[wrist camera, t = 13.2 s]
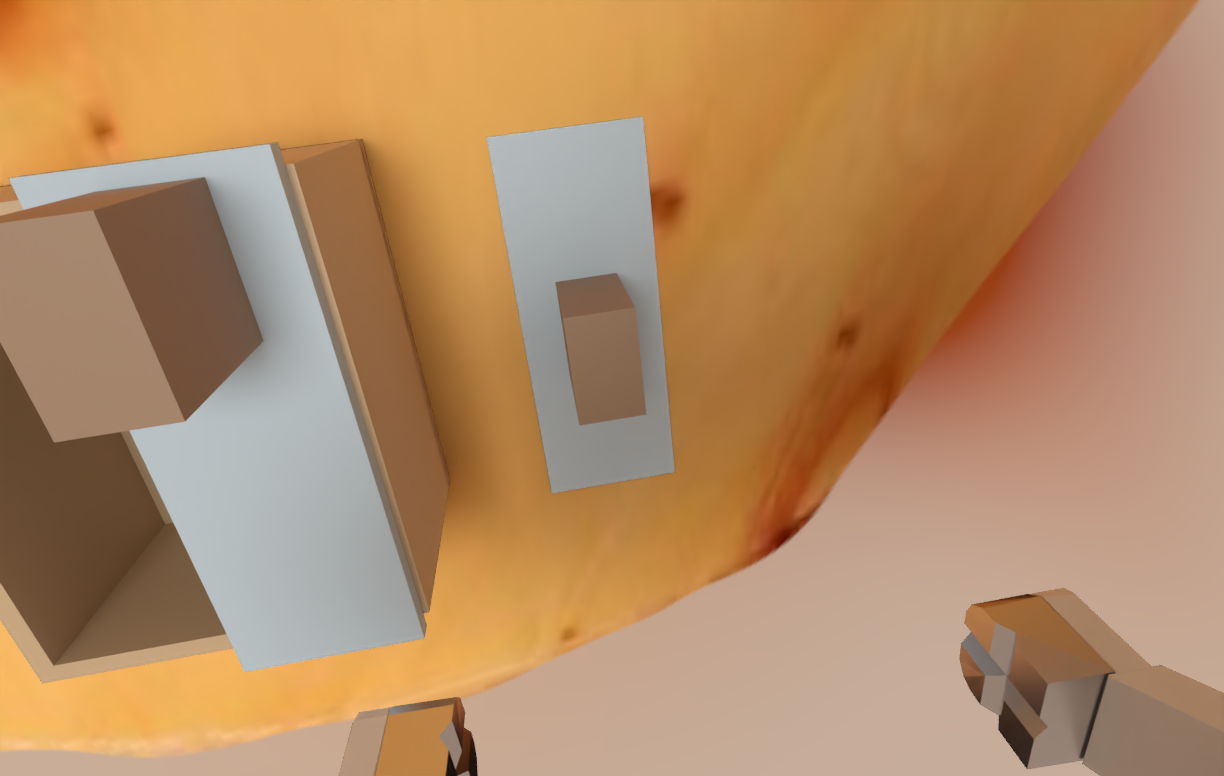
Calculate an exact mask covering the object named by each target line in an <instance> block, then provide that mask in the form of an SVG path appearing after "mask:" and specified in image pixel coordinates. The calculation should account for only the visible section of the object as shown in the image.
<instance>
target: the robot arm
mask: <svg viewBox="0 0 1224 776" xmlns="http://www.w3.org/2000/svg"><path fill="white" fill-rule="evenodd" d="M965 624H966V626H967V627H968V628H969V629H970V631H971V633H970V634H969V635H968V636H967V638H966V639H965V640H964V641H963V642H962V643H961V649H960V663H961V667H962V671H963V676H964V678H965V680H966V682H967V684H968V686H969V688H970V690H971V692H972V693H973V695H974V696H975V698H976V699H977V701H978V702H979V703H980V705H982V706H984V707H986V708H987V709H989V710H991V711H992V712H994V713H996V714H998V715H999V725H998V726H999V727H998V730H999V731H1000V733H1001V734H1002V735H1003V737H1004V738H1005V739H1006V741H1007V742H1008V744H1009V745H1010V746H1011V748H1012V749H1013V751H1014V752H1015V753H1016V755H1017V756H1018V757H1019V759H1020V760H1021V762H1022V763H1023V764H1024V766H1025V767H1026V768H1027V769H1032V768H1038V767H1045V766H1051V765H1057V764H1063V763H1069V762H1076V761H1082V760H1083V763H1082V764H1084V765H1085V766H1087V767H1088V768H1089V769H1091V770H1092V771H1094V772H1095V773H1097V774H1098V775H1100V776H1224V693H1223V692H1220V691H1218V690H1216V689H1214V688H1211V687H1209V686H1207V685H1205V684H1202V683H1200V682H1198V681H1196V680H1193V679H1191V678H1189V677H1187V676H1184V675H1182V674H1180V673H1178V672H1176V671H1173V670H1171V669H1169V668H1167V667H1164V666H1162V665H1159V666H1153V667H1152V666H1151V665H1150V664H1148V663H1147V662H1146V661H1145V660H1144V659H1143V658H1142V657H1141V656H1140V655H1139V654H1138V653H1137V652H1136V651H1134V650H1133V649H1132V648H1131V647H1130V646H1129V645H1128V644H1127V643H1126V642H1125V641H1124V640H1123V639H1122V638H1121V637H1120V636H1119V635H1118V634H1117V633H1116V632H1114V631H1113V630H1112V629H1111V628H1110V627H1109V626H1108V625H1107V624H1106V623H1105V622H1104V621H1103V620H1102V619H1101V618H1100V617H1099V616H1098V615H1096V614H1095V613H1094V612H1093V611H1092V610H1091V609H1090V608H1089V607H1088V606H1087V605H1086V604H1085V603H1084V602H1082V600H1081V599H1079V598H1078V597H1077V596H1076V595H1075V594H1074V593H1073V592H1071V591H1069V590H1067V589H1065V588H1061V589H1055V590H1049V591H1044V592H1038V593H1034V594H1025V595H1020V596H1014V597H1010V598H1004V599H999V600H994V601H988V602H983V603H978V604H973V605H971V606H970V608H969V609H968V610H967V611H966V617H965ZM464 720H465V710H464V707H463V705H462V702H461V699H460V698H459V697H454V698H448V699H441V700H434V701H428V702H421V703H414V704H408V705H401V706H394V707H390V708H384V709H378V710H371V711H365V712H359V714H358V715H357V717H356V718H355V720H354V722H353V723H352V727H351V731H350V735H349V739H348V743H347V746H346V750H345V754H344V757H343V761H342V765H341V769H340V772H339V776H478V774H477V756H476V750H475V744H474V740H473V737H472V733H471V732H470V731H469V730H467V729H465V728H464Z"/></svg>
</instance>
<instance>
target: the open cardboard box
mask: <svg viewBox="0 0 1224 776" xmlns="http://www.w3.org/2000/svg"><path fill="white" fill-rule="evenodd" d="M281 154H282V157H283V160H284V163H285V166H286V170H287V173H288V176H289V179H290V183H291V186H292V189H293V192H294V196H295V199H296V202H297V205H298V209H299V212H300V215H301V218H302V222H303V225H304V228H305V231H306V235H307V238H308V241H309V244H310V248H311V251H312V254H313V257H314V261H315V264H316V267H317V270H318V274H319V277H320V280H321V283H322V287H323V290H324V293H325V296H326V300H327V303H328V306H329V309H330V313H331V316H332V319H333V322H334V326H335V329H336V332H337V335H338V339H339V342H340V345H341V348H342V352H343V355H344V358H345V361H346V365H347V368H348V371H349V374H350V378H351V381H352V384H353V387H354V391H355V394H356V397H357V400H358V403H359V407H360V410H361V413H362V416H363V420H364V423H365V426H366V429H367V433H368V436H369V439H370V442H371V446H372V449H373V452H374V455H375V459H376V462H377V465H378V468H379V472H380V475H381V478H382V481H383V485H384V488H385V491H386V494H387V498H388V501H389V504H390V507H391V511H392V514H393V517H394V520H395V524H396V527H397V530H398V533H399V537H400V540H401V543H402V546H403V550H404V553H405V556H406V559H407V563H408V566H409V569H410V572H411V576H412V579H413V582H414V585H415V589H416V592H417V595H418V598H419V602H420V605H421V608H422V611H423V613H428V612H429V611H430V605H431V598H432V592H433V586H434V579H435V573H436V567H437V560H438V554H439V547H440V541H441V535H442V528H443V522H444V516H445V509H446V503H447V497H448V490H449V484H450V479H449V475H448V472H447V468H446V464H445V460H444V456H443V452H442V448H441V444H440V440H439V437H438V433H437V429H436V425H435V421H434V417H433V413H432V409H431V406H430V402H429V398H428V394H427V390H426V386H425V382H424V378H423V375H422V371H421V367H420V363H419V359H418V355H417V351H416V347H415V343H414V340H413V336H412V332H411V328H410V324H409V320H408V316H407V312H406V309H405V305H404V301H403V297H402V293H401V289H400V285H399V281H398V277H397V274H396V270H395V266H394V262H393V258H392V254H391V250H390V246H389V243H388V239H387V235H386V231H385V227H384V223H383V219H382V215H381V212H380V208H379V204H378V200H377V196H376V192H375V188H374V184H373V180H372V177H371V173H370V169H369V165H368V161H367V157H366V153H365V149H364V146H363V142H362V139H357V140H349V141H342V142H334V143H326V144H319V145H311V146H304V147H296V148H288V149H281ZM21 210H23V207H22V205H21V203H20V201H19V199H18V197H17V195H16V193H15V191H14V189H13V187H12V185H8V186H0V216H2V215H6V214H9V213H13V212H17V211H21ZM0 620H1V622H2V623H3V625H4V626H5V628H6V629H7V631H8V632H9V634H10V635H11V637H12V638H13V640H14V642H15V643H16V645H17V646H18V648H19V649H20V651H21V652H22V654H23V655H24V657H25V658H26V660H27V661H28V663H29V664H30V666H31V667H32V669H33V670H34V672H35V673H36V675H37V676H38V678H39V679H40V681H41V682H42V683H48V682H53V681H58V680H64V679H69V678H75V677H80V676H86V675H91V674H96V673H102V672H107V671H113V670H118V669H124V668H129V667H134V666H140V665H145V664H151V663H156V662H162V661H167V660H172V659H178V658H183V657H189V656H194V655H200V654H205V653H210V652H216V651H221V650H227V649H232V648H233V646H232V644H231V642H230V640H229V638H228V636H227V634H226V632H225V630H224V627H223V625H222V623H221V621H220V619H219V617H218V615H217V613H216V611H215V609H214V607H213V604H212V602H211V600H210V598H209V596H208V594H207V592H206V590H205V588H204V586H203V584H202V581H201V579H200V577H199V575H198V573H197V571H196V569H195V567H194V565H193V563H192V561H191V558H190V556H189V554H188V552H187V550H186V548H185V546H184V544H183V542H182V540H181V538H180V536H179V533H178V531H177V529H176V527H175V525H174V523H173V521H172V519H171V517H170V515H169V513H168V510H167V508H166V506H165V504H164V502H163V500H162V498H161V496H160V494H159V492H158V490H157V487H156V485H155V483H154V481H153V479H152V477H151V475H150V473H149V471H148V469H147V467H146V464H145V462H144V460H143V458H142V456H141V454H140V452H139V450H138V448H137V446H136V444H135V441H134V439H133V437H132V435H131V433H130V431H124V432H117V433H111V434H105V435H98V436H92V437H86V438H80V439H73V440H67V441H61V442H55V443H54V441H53V440H52V438H51V436H50V434H49V432H48V430H47V428H46V427H45V425H44V423H43V421H42V419H41V417H40V415H39V413H38V412H37V410H36V408H35V406H34V404H33V402H32V400H31V399H30V397H29V395H28V393H27V391H26V389H25V387H24V386H23V384H22V382H21V380H20V378H19V376H18V374H17V373H16V371H15V369H14V367H13V365H12V363H11V361H10V360H9V358H8V356H7V354H6V352H5V350H4V348H3V346H2V345H1V343H0Z"/></svg>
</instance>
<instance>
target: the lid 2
mask: <svg viewBox="0 0 1224 776" xmlns="http://www.w3.org/2000/svg"><path fill="white" fill-rule="evenodd" d="M487 142H488V147H489V153H490V158H491V164H492V169H493V175H494V180H495V186H496V191H497V197H498V202H499V208H500V213H501V218H502V224H503V229H504V235H505V240H506V246H507V251H508V257H509V262H510V268H511V273H512V279H513V284H514V289H515V295H516V300H517V306H518V311H519V317H520V322H521V328H522V333H523V339H524V344H525V350H526V355H527V361H528V366H529V371H530V377H531V382H532V388H533V393H534V399H535V404H536V410H537V415H538V421H539V426H540V432H541V437H542V442H543V448H544V453H545V459H546V464H547V470H548V475H549V481H550V486H551V492H552V493H558V492H564V491H570V490H575V489H581V488H587V487H593V486H599V485H604V484H610V483H616V482H622V481H628V480H633V479H639V478H645V477H651V476H657V475H662V474H668V473H674V472H675V468H674V457H673V445H672V434H671V423H670V412H669V401H668V389H667V378H666V367H665V356H664V344H663V333H662V322H661V311H660V300H659V288H658V277H657V266H656V255H655V244H654V232H653V221H652V210H651V199H650V188H649V176H648V165H647V154H646V143H645V132H644V120H643V117H636V118H628V119H621V120H613V121H606V122H598V123H590V124H583V125H575V126H568V127H560V128H553V129H545V130H538V131H530V132H523V133H515V134H508V135H500V136H493V137H487Z"/></svg>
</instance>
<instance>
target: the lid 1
mask: <svg viewBox="0 0 1224 776" xmlns="http://www.w3.org/2000/svg"><path fill="white" fill-rule="evenodd" d="M9 180H10V182H11V185H12V187H13V189H14V191H15V193H16V195H17V197H18V199H19V201H20V203H21V205H22V207H23V210H21V211H17V212H13V213H9V214H6V215H2V216H0V343H1V345H2V346H3V348H4V350H5V352H6V354H7V356H8V358H9V360H10V361H11V363H12V365H13V367H14V369H15V371H16V373H17V374H18V376H19V378H20V380H21V382H22V384H23V386H24V387H25V389H26V391H27V393H28V395H29V397H30V399H31V400H32V402H33V404H34V406H35V408H36V410H37V412H38V413H39V415H40V417H41V419H42V421H43V423H44V425H45V427H46V428H47V430H48V432H49V434H50V436H51V438H52V440H53V441H54V443H55V442H61V441H67V440H73V439H80V438H86V437H92V436H98V435H105V434H111V433H117V432H124V431H130V433H131V435H132V437H133V439H134V441H135V444H136V446H137V448H138V450H139V452H140V454H141V456H142V458H143V460H144V462H145V464H146V467H147V469H148V471H149V473H150V475H151V477H152V479H153V481H154V483H155V485H156V487H157V490H158V492H159V494H160V496H161V498H162V500H163V502H164V504H165V506H166V508H167V510H168V513H169V515H170V517H171V519H172V521H173V523H174V525H175V527H176V529H177V531H178V533H179V536H180V538H181V540H182V542H183V544H184V546H185V548H186V550H187V552H188V554H189V556H190V558H191V561H192V563H193V565H194V567H195V569H196V571H197V573H198V575H199V577H200V579H201V581H202V584H203V586H204V588H205V590H206V592H207V594H208V596H209V598H210V600H211V602H212V604H213V607H214V609H215V611H216V613H217V615H218V617H219V619H220V621H221V623H222V625H223V627H224V630H225V632H226V634H227V636H228V638H229V640H230V642H231V644H232V646H233V648H234V650H235V653H236V655H237V657H238V659H239V661H240V663H241V665H242V667H243V669H244V671H245V672H248V671H253V670H259V669H264V668H270V667H275V666H280V665H286V664H291V663H296V662H302V661H307V660H312V659H318V658H323V657H328V656H334V655H339V654H344V653H350V652H355V651H360V650H366V649H371V648H377V647H382V646H387V645H393V644H398V643H403V642H409V641H414V640H419V639H425V632H426V626H427V624H426V621H425V618H424V615H423V611H422V608H421V605H420V602H419V598H418V595H417V592H416V589H415V585H414V582H413V579H412V576H411V572H410V569H409V566H408V563H407V559H406V556H405V553H404V550H403V546H402V543H401V540H400V537H399V533H398V530H397V527H396V524H395V520H394V517H393V514H392V511H391V507H390V504H389V501H388V498H387V494H386V491H385V488H384V485H383V481H382V478H381V475H380V472H379V468H378V465H377V462H376V459H375V455H374V452H373V449H372V446H371V442H370V439H369V436H368V433H367V429H366V426H365V423H364V420H363V416H362V413H361V410H360V407H359V403H358V400H357V397H356V394H355V391H354V387H353V384H352V381H351V378H350V374H349V371H348V368H347V365H346V361H345V358H344V355H343V352H342V348H341V345H340V342H339V339H338V335H337V332H336V329H335V326H334V322H333V319H332V316H331V313H330V309H329V306H328V303H327V300H326V296H325V293H324V290H323V287H322V283H321V280H320V277H319V274H318V270H317V267H316V264H315V261H314V257H313V254H312V251H311V248H310V244H309V241H308V238H307V235H306V231H305V228H304V225H303V222H302V218H301V215H300V212H299V209H298V205H297V202H296V199H295V196H294V192H293V189H292V186H291V183H290V179H289V176H288V173H287V170H286V166H285V163H284V160H283V157H282V154H281V150H280V147H279V144H278V142H276V143H269V144H261V145H253V146H246V147H238V148H230V149H223V150H215V151H207V152H200V153H192V154H185V155H177V156H169V157H162V158H154V159H146V160H139V161H131V162H123V163H116V164H108V165H101V166H93V167H85V168H78V169H70V170H62V171H55V172H47V173H39V174H32V175H25V176H20V177H14V178H9Z"/></svg>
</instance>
